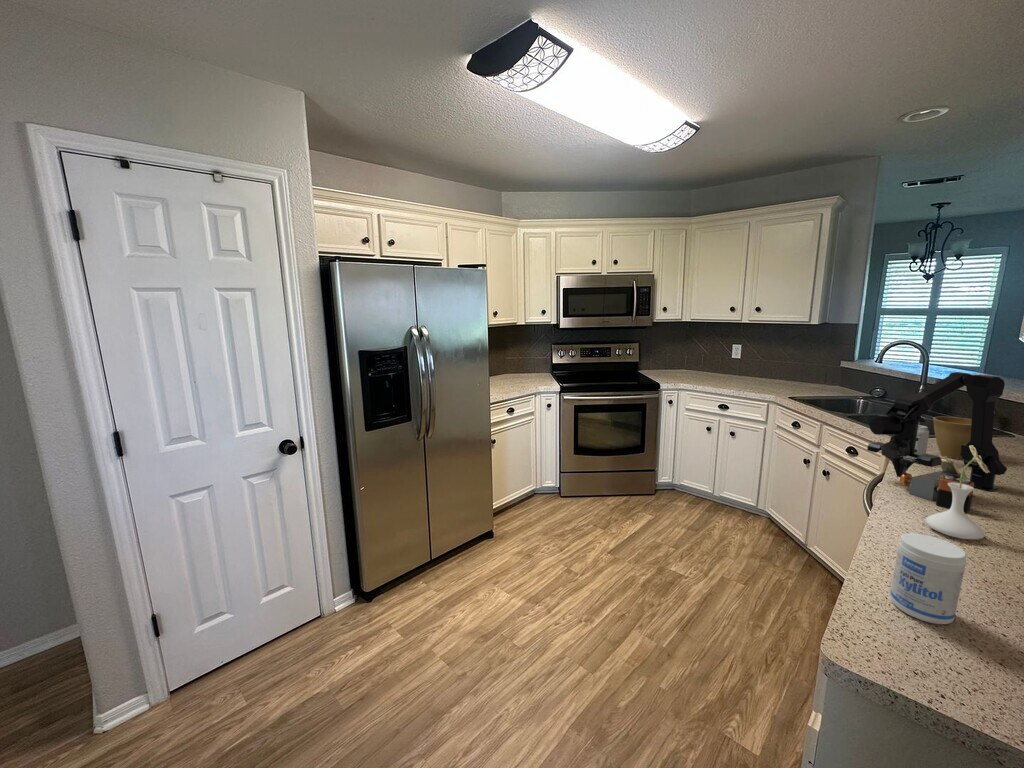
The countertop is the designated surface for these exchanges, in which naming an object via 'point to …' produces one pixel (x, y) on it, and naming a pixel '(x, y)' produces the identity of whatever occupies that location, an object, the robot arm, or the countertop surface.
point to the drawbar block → (928, 484)
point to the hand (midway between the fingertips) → (899, 476)
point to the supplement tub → (928, 578)
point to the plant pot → (952, 435)
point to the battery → (946, 493)
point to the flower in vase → (958, 509)
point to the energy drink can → (922, 440)
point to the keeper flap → (949, 467)
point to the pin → (907, 479)
